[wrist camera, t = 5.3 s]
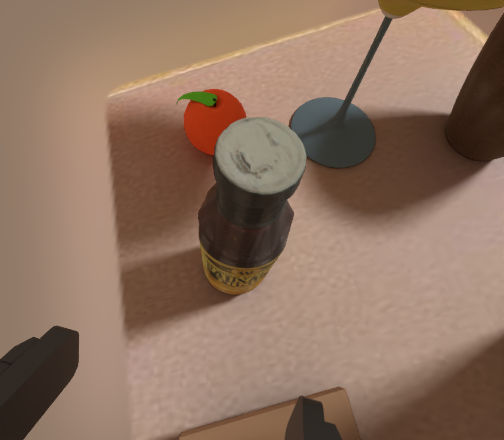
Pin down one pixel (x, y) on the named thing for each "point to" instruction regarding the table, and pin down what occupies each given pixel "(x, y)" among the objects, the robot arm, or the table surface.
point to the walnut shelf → (279, 421)
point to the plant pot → (481, 104)
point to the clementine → (210, 116)
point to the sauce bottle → (249, 202)
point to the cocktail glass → (342, 111)
